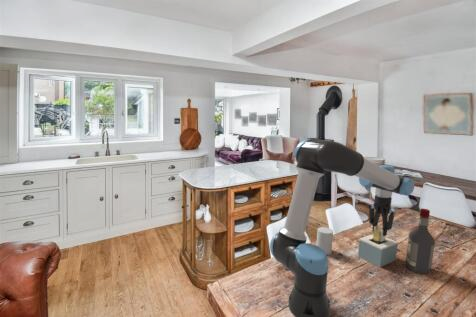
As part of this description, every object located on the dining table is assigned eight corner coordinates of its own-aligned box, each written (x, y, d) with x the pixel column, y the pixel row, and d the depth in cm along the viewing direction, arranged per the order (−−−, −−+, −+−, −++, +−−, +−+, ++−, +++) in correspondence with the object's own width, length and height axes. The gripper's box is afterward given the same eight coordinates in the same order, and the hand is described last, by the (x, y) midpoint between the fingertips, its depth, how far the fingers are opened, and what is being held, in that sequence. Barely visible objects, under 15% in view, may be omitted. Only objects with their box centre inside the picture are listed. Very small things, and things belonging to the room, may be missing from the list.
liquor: (424, 265, 132) (432, 207, 127) (432, 275, 123) (440, 214, 118) (403, 262, 134) (410, 205, 130) (410, 271, 125) (417, 212, 121)
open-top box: (379, 267, 129) (381, 248, 127) (358, 256, 139) (359, 238, 137) (395, 260, 136) (397, 242, 134) (373, 250, 146) (375, 233, 144)
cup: (332, 255, 139) (334, 234, 138) (316, 253, 141) (318, 232, 139) (330, 248, 147) (331, 227, 145) (315, 246, 149) (316, 226, 147)
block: (378, 242, 133) (379, 231, 132) (372, 240, 136) (373, 229, 135) (385, 239, 136) (386, 229, 135) (379, 237, 139) (380, 227, 138)
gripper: (403, 199, 127) (398, 244, 131) (372, 190, 141) (368, 232, 144) (395, 201, 123) (390, 247, 127) (364, 192, 137) (360, 234, 141)
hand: (378, 239), depth 136 cm, fingers closed on block, 3 cm apart
